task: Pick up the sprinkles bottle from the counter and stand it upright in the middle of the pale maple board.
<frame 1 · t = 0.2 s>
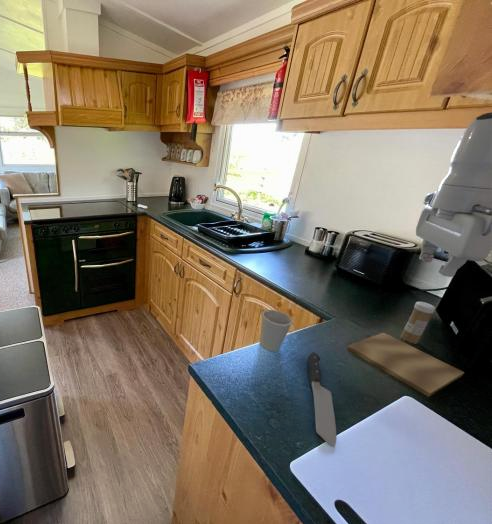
hand: (434, 267, 61), 33 cm above the countertop, tool pointing down, fingers open, 8 cm apart
kitchen knife: (320, 395, 70), on the countertop
sprinkles bottle: (408, 340, 95), on the countertop
maple board: (401, 361, 84), on the countertop
dixie cup: (269, 345, 87), on the countertop
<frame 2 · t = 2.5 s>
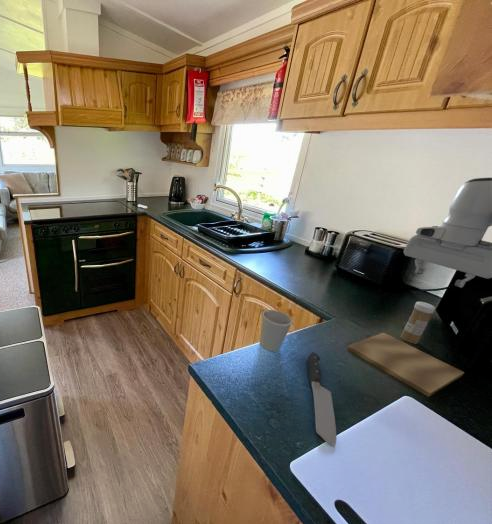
hand: (437, 279, 87), 22 cm above the countertop, tool pointing down, fingers open, 8 cm apart
nothing on the countertop moved.
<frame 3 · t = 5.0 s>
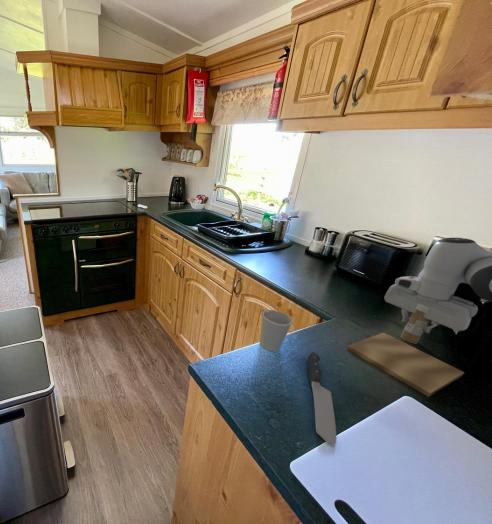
hand: (415, 326, 93), 5 cm above the countertop, tool pointing down, fingers closed on sprinkles bottle, 4 cm apart
sprinkles bottle: (408, 340, 95), on the countertop, touching gripper
everything else where it was.
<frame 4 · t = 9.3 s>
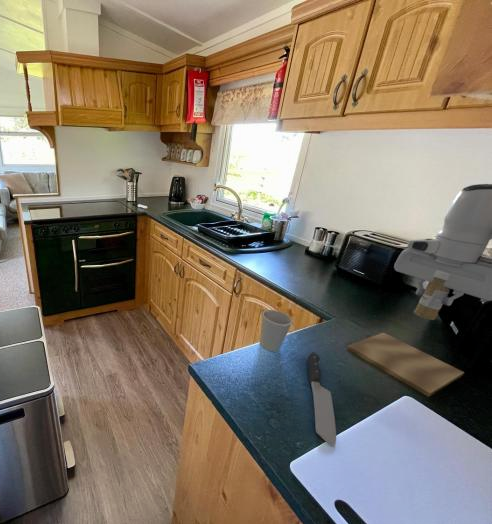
hand: (432, 299, 77), 21 cm above the countertop, tool pointing down, fingers closed on sprinkles bottle, 4 cm apart
sprinkles bottle: (424, 316, 79), point 15 cm above the countertop, touching gripper
everything else where it was.
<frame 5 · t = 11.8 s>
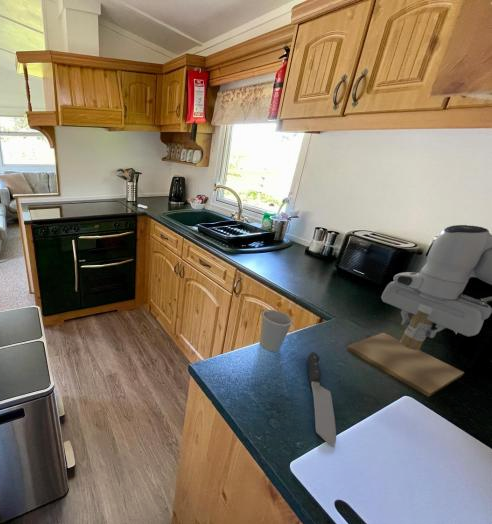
hand: (416, 330, 80), 11 cm above the countertop, tool pointing down, fingers closed on sprinkles bottle, 4 cm apart
sprinkles bottle: (409, 346, 82), point 5 cm above the countertop, touching gripper
everything else where it was.
when the fingers open (6 cm above the countertop, at t = 13.5 s): sprinkles bottle stays where it is, resting on maple board.
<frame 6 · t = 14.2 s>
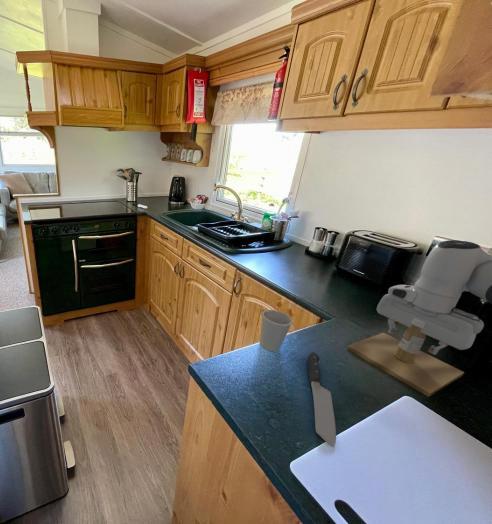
hand: (411, 342, 82), 7 cm above the countertop, tool pointing down, fingers open, 8 cm apart
sprinkles bottle: (403, 358, 84), point 1 cm above the countertop, touching maple board
everything else where it was.
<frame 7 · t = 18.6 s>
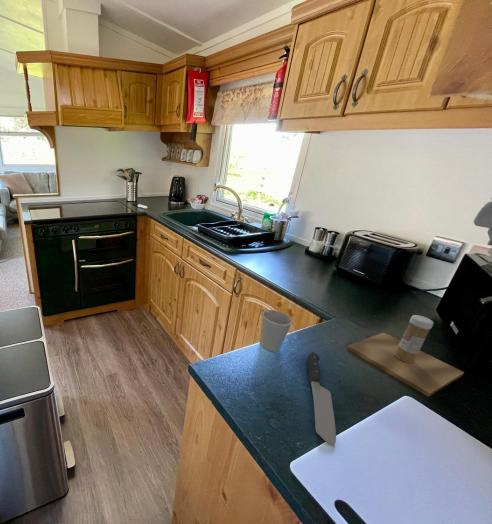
nothing on the countertop moved.
at the end: sprinkles bottle inside the target area on the maple board (0.1 cm from its centre), point 1.0 cm above the maple board's base; sprinkles bottle tilted 0°; the gripper is holding nothing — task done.
